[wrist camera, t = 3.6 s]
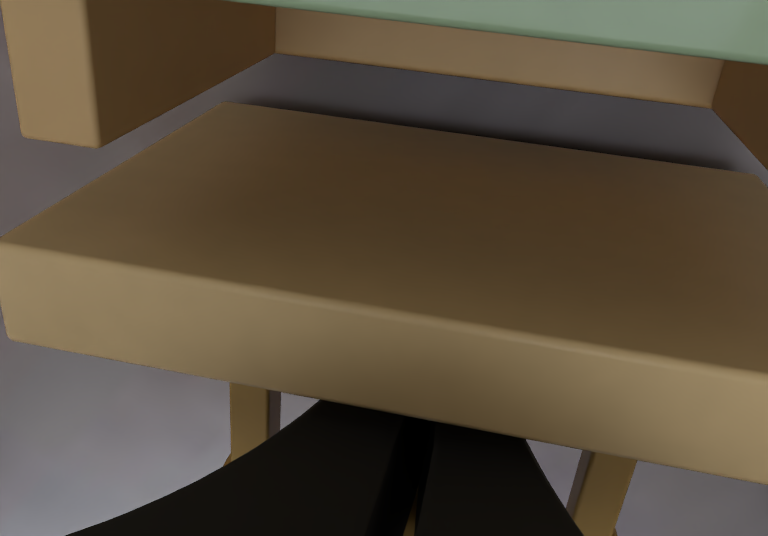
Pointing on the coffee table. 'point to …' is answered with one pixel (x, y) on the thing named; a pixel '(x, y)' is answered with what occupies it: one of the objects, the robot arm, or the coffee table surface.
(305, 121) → the drawer
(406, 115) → the coffee table surface
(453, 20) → the sage green box
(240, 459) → the robot arm
